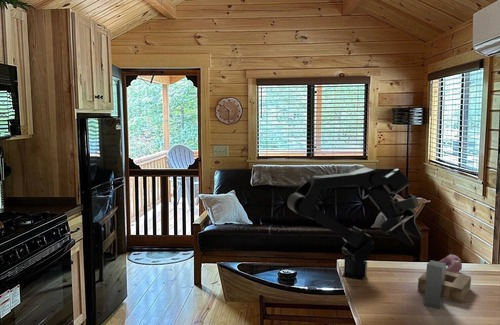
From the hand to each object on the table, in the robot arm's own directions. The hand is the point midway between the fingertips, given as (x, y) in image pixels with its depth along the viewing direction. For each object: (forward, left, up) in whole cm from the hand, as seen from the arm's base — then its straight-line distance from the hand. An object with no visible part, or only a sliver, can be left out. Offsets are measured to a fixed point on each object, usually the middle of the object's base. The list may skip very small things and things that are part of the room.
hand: (416, 241), depth 137 cm
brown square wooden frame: (+9, -2, -13) cm, 16 cm away
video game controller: (+9, +15, -14) cm, 22 cm away
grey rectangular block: (+7, -14, -13) cm, 20 cm away
